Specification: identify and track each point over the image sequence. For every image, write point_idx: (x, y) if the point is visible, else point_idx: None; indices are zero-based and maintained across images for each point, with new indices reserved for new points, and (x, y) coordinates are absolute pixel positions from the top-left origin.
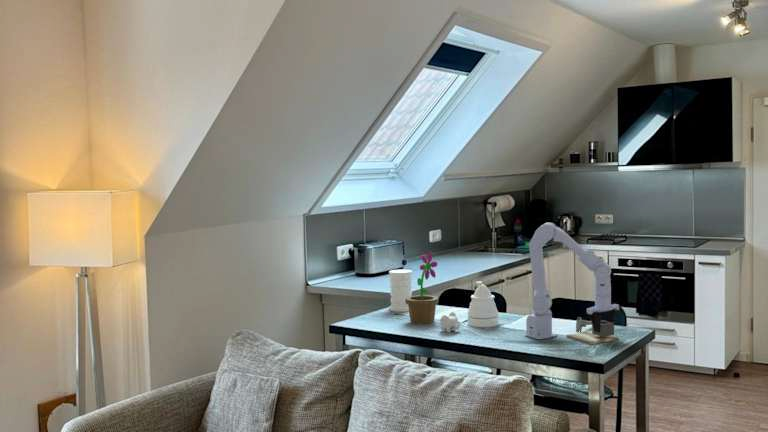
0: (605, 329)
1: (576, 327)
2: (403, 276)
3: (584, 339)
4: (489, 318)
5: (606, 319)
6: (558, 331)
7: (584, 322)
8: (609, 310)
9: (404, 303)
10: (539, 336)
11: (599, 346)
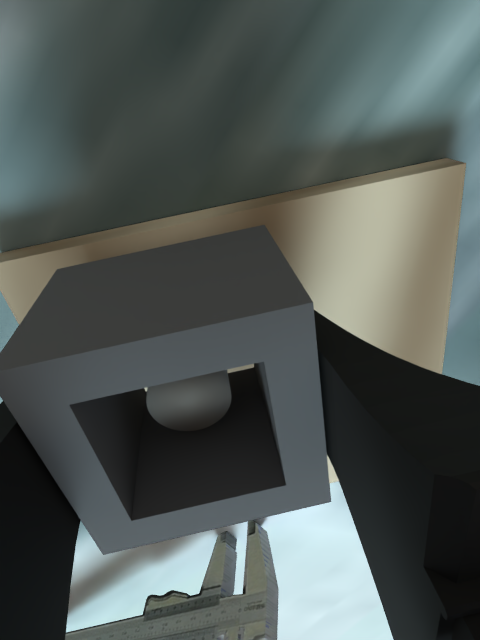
0: (229, 273)
1: (272, 567)
2: None
3: (437, 286)
4: None
5: (64, 545)
6: (342, 565)
7: (167, 633)
8: None
9: None
10: None
11: (438, 11)
